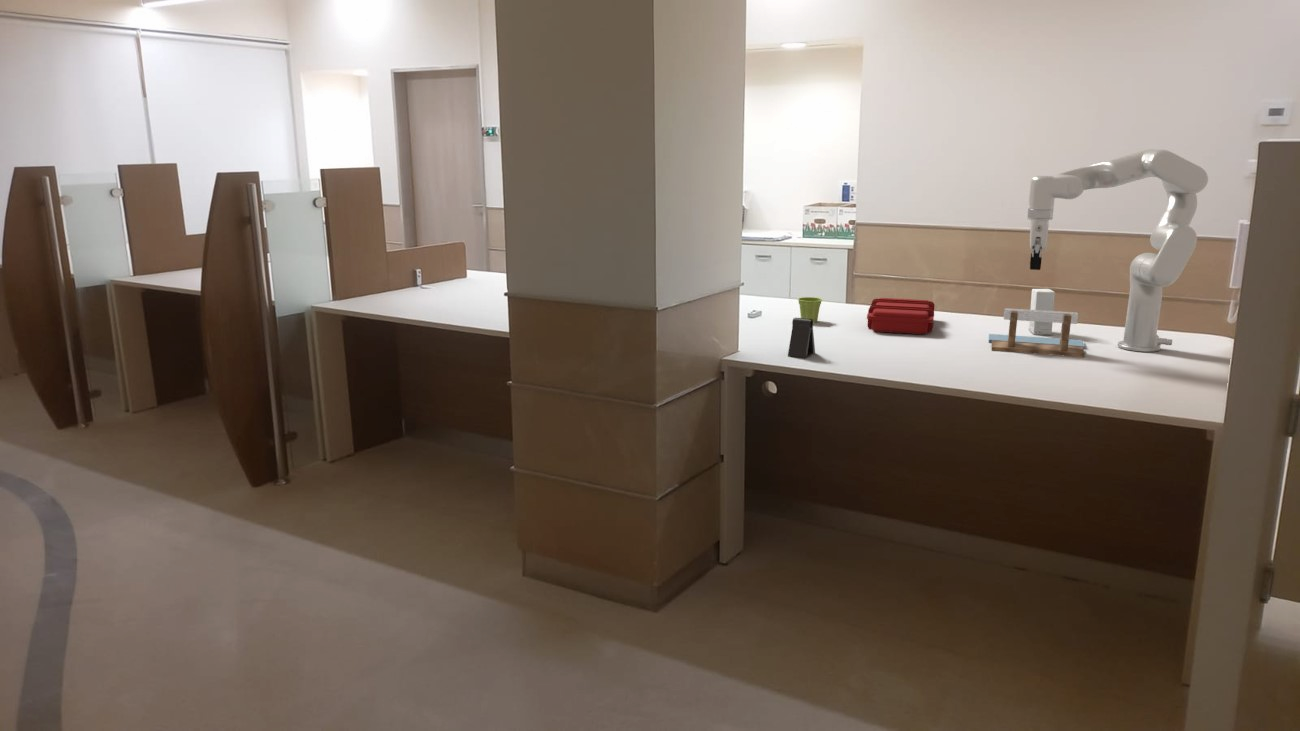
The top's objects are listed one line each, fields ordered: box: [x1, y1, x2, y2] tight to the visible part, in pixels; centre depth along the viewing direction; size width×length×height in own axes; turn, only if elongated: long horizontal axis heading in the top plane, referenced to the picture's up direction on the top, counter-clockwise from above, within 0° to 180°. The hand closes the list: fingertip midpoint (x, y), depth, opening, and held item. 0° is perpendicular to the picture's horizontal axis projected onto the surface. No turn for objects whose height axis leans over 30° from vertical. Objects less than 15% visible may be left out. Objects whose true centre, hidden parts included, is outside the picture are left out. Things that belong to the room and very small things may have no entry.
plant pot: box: [797, 296, 823, 323], centre depth 344 cm, size 9×9×9 cm
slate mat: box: [988, 333, 1086, 350], centre depth 308 cm, size 30×10×1 cm, turn 69°
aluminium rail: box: [1003, 307, 1079, 325], centre depth 294 cm, size 22×3×3 cm, turn 69°
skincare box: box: [1028, 288, 1056, 336], centre depth 322 cm, size 8×7×16 cm
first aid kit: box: [866, 297, 935, 335], centre depth 336 cm, size 32×23×9 cm
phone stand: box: [787, 317, 816, 359], centre depth 291 cm, size 9×6×12 cm, turn 149°
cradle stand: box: [991, 312, 1086, 358], centre depth 296 cm, size 28×10×13 cm, turn 69°
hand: (1035, 267), depth 295 cm, fingers open, 9 cm apart
